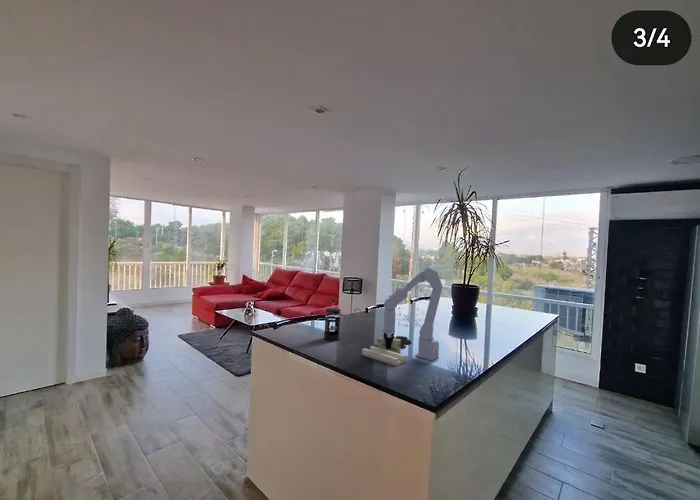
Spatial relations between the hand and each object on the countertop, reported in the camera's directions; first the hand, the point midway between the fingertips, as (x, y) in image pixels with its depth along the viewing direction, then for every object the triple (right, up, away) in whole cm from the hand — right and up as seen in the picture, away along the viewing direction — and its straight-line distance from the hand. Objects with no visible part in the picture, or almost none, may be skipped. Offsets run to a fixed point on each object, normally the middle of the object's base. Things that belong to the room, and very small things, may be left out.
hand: (388, 347), depth 168 cm
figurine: (+5, -3, +15) cm, 16 cm away
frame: (0, -2, 0) cm, 2 cm away
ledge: (-4, -2, -12) cm, 12 cm away
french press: (-30, -1, +19) cm, 36 cm away
